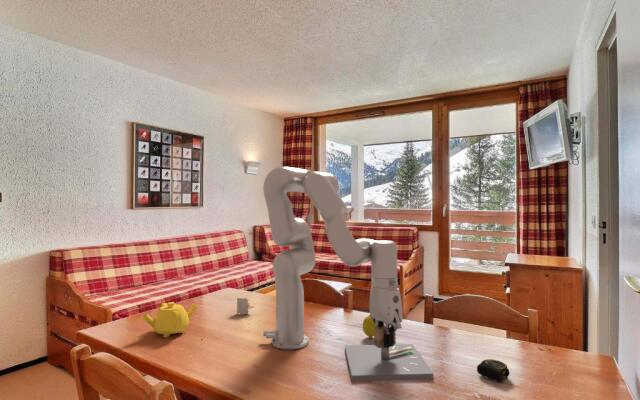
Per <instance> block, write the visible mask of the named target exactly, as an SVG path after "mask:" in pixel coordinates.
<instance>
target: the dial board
mask: <svg viewBox="0 0 640 400" xmlns="http://www.w3.org/2000/svg"><path fill="white" fill-rule="evenodd" d="M406 347H412V348H413V350H412V351H408V352H404V353H400V354H396V355H392V356H389V359H383V358H381V348H378V347H376V346H375V345H374V344H364V345H363V344H357V345H356V344H355V345H344V352H345V357H346V361H347V365H348V370H349V373H350V374H349V375H350V378H351V382H360V381H361V382H363V381H364V382H368V381H369V382H371V381H372V382H373V381H375V382H376V381H409V380H410V381H411V380H412V381H414V380H419V381H420V380H434V377H435V376H434V372H433V371H432V370H431V368H430V366H429V365H428V364H427V362H426V361H425V360H424V358H423V357H422V356H421V354H420V353H419V351H418V349H416V347H415V345H414V344H413V343H407V344H405V343H404V344H403V343H401V344H397V343H396V344H395V345H394V346H391V347H389V352H390V351H394V350H398V349H402V348H406Z"/></svg>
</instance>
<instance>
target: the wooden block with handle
mask: <svg viewBox="0 0 640 400" xmlns="http://www.w3.org/2000/svg"><path fill="white" fill-rule="evenodd" d="M390 327H391V325H389V328H390ZM385 333H386V331H385V326H383V327H378V328H374V336H373V341H374V343H373V345H375V346H376V347H378V348H381V358H383V359H389V356H392V355H396V354H400V353H404V352H408V351H412V350H413V348H412V347H406V348H402V349H398V350H394V351H390V352H389V347H388V348H386V347H384V334H385ZM396 339H397V337H396V331H395V333H394V345H395V344H397V342H396V341H397V340H396Z"/></svg>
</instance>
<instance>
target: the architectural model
mask: <svg viewBox="0 0 640 400" xmlns="http://www.w3.org/2000/svg"><path fill="white" fill-rule="evenodd" d="M248 302H249V299H248V298H246V297H243V298H242V297H236V314H237V313H240V314H239V315H241V314H247V315H246V316H249V309H250V310H251V309H253V308H255V305H251V304H250V303H248Z"/></svg>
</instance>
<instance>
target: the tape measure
mask: <svg viewBox="0 0 640 400" xmlns="http://www.w3.org/2000/svg"><path fill="white" fill-rule="evenodd" d="M476 371H477V373H478V374H479V375H481V376H483V377H485V378H488V379H489V380H493V381H495V382H497V383H503V382H504V381H505V380H507V379H508V377H509V375H510V370H509V368H508V365H507V364H506V363H505V362H503V361H500V360H497V359H492V358H490V359H489V358H488V359H483V360H482V361H481V362H480V363H479V364H477V366H476Z"/></svg>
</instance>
